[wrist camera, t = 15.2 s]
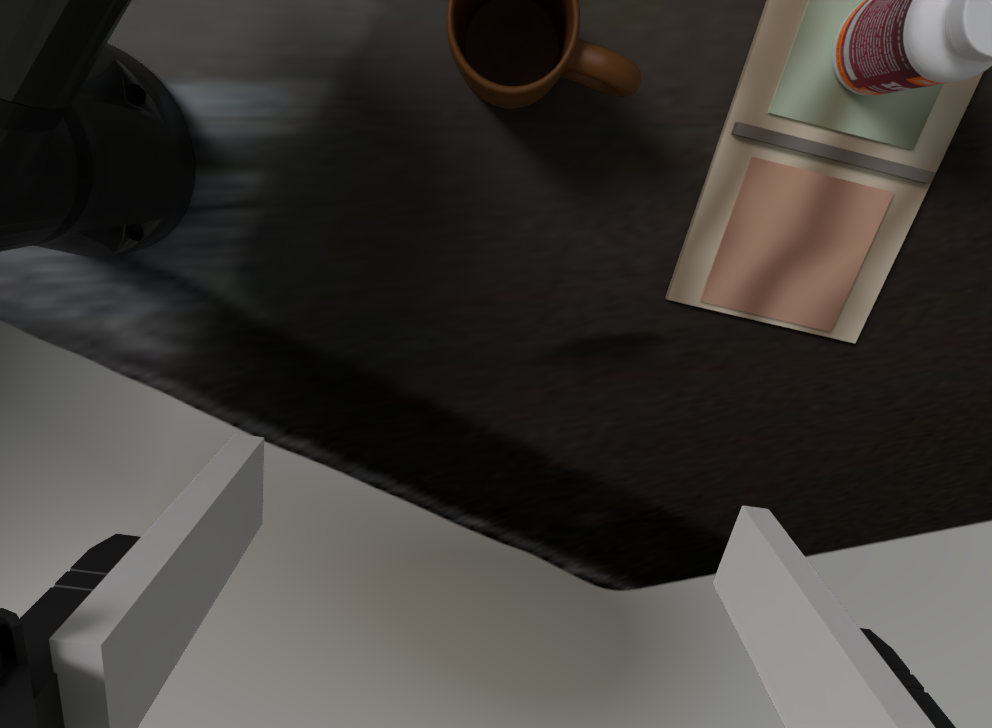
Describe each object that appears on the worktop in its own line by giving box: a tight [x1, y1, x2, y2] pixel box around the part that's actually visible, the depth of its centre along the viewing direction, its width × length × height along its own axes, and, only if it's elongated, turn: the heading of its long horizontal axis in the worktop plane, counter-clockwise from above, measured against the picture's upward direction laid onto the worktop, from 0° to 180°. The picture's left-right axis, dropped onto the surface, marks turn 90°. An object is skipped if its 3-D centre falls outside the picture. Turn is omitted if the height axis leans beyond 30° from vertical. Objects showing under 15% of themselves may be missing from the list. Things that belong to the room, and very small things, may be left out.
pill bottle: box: [832, 0, 992, 96], centre depth 33 cm, size 6×6×11 cm
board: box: [665, 0, 983, 343], centre depth 41 cm, size 16×26×1 cm, turn 167°
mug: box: [447, 0, 641, 109], centre depth 35 cm, size 12×8×9 cm, turn 69°
